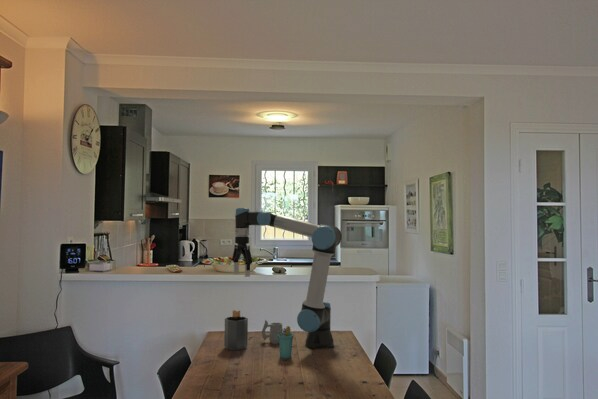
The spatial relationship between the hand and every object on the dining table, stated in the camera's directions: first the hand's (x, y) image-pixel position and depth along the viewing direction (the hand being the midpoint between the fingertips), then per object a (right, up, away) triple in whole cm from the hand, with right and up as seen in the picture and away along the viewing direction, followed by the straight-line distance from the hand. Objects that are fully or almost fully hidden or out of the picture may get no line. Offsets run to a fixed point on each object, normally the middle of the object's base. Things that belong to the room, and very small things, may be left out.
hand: (241, 275), depth 252 cm
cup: (+25, -36, -27) cm, 51 cm away
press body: (-3, -36, -8) cm, 37 cm away
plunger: (-2, -34, -10) cm, 36 cm away
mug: (+17, -37, +2) cm, 41 cm away
